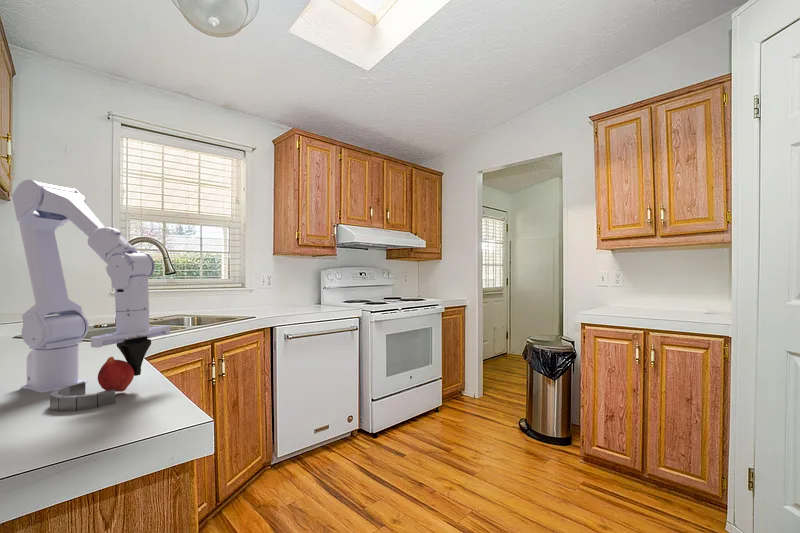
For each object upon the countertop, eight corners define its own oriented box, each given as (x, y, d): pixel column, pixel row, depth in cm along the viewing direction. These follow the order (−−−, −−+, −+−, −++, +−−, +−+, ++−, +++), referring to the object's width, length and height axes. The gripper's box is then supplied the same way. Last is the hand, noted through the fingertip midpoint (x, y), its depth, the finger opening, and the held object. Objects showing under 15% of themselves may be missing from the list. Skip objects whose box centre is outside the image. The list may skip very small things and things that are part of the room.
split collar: (38, 406, 70) (38, 391, 70) (82, 394, 76) (82, 381, 76) (70, 416, 65) (70, 401, 65) (115, 403, 71) (115, 389, 71)
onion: (109, 404, 74) (93, 369, 71) (102, 393, 77) (87, 360, 75) (142, 388, 78) (129, 355, 75) (134, 378, 81) (121, 346, 79)
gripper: (104, 315, 71) (107, 387, 71) (178, 306, 84) (180, 367, 84) (83, 314, 74) (85, 383, 74) (157, 305, 87) (159, 364, 87)
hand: (134, 375), depth 79 cm, fingers closed, pressing on onion
